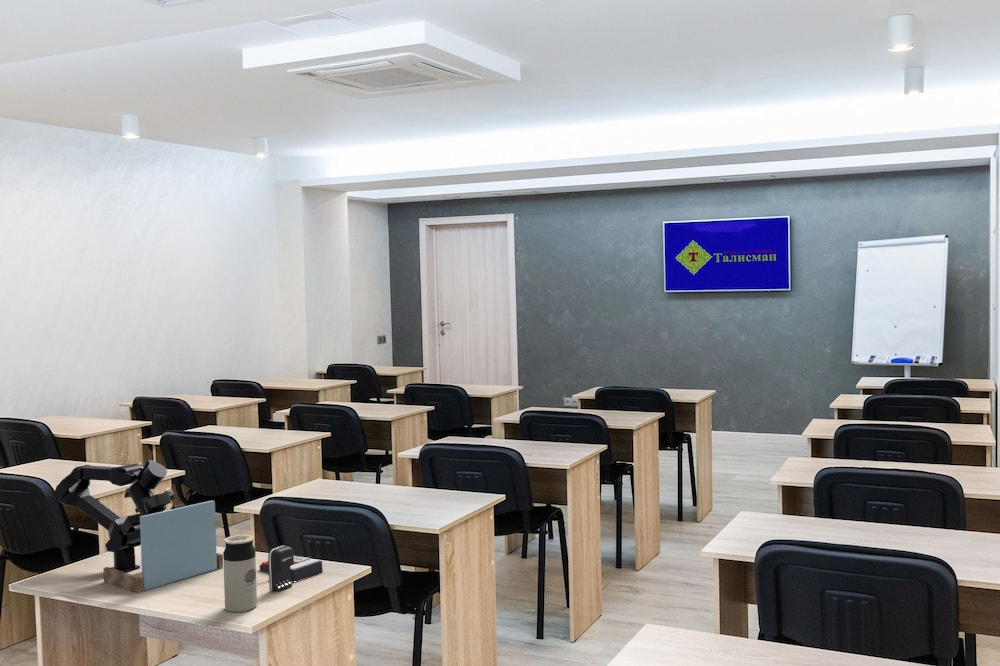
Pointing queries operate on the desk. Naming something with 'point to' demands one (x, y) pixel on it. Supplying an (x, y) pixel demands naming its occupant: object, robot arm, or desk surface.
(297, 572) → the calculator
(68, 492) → the robot arm
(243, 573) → the travel mug
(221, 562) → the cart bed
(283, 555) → the battery charger
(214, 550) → the panel
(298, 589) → the desk surface
